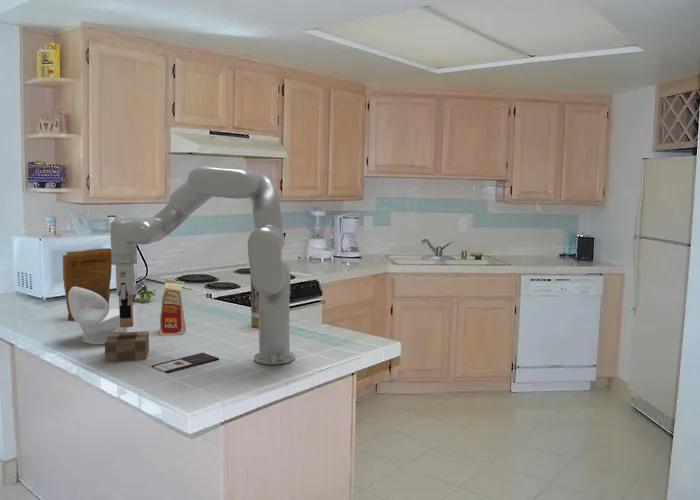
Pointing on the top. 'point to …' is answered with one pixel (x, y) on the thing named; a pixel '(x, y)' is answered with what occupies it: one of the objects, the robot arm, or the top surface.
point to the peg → (127, 321)
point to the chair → (93, 315)
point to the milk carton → (172, 310)
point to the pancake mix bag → (87, 273)
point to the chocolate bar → (185, 362)
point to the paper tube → (254, 307)
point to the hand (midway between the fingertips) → (126, 315)
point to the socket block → (127, 346)
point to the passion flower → (139, 289)
